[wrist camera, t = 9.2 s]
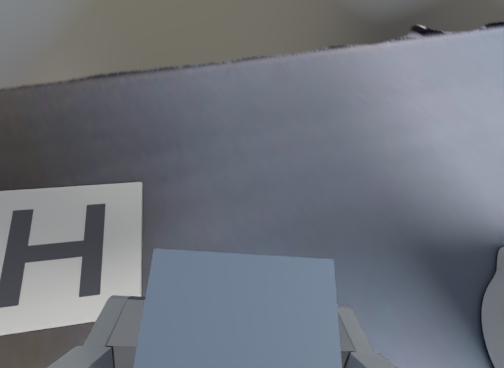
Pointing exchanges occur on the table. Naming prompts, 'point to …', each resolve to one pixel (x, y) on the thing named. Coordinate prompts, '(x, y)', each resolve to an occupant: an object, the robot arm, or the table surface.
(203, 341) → the blue block
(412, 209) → the table surface
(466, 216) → the table surface
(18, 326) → the letter card
